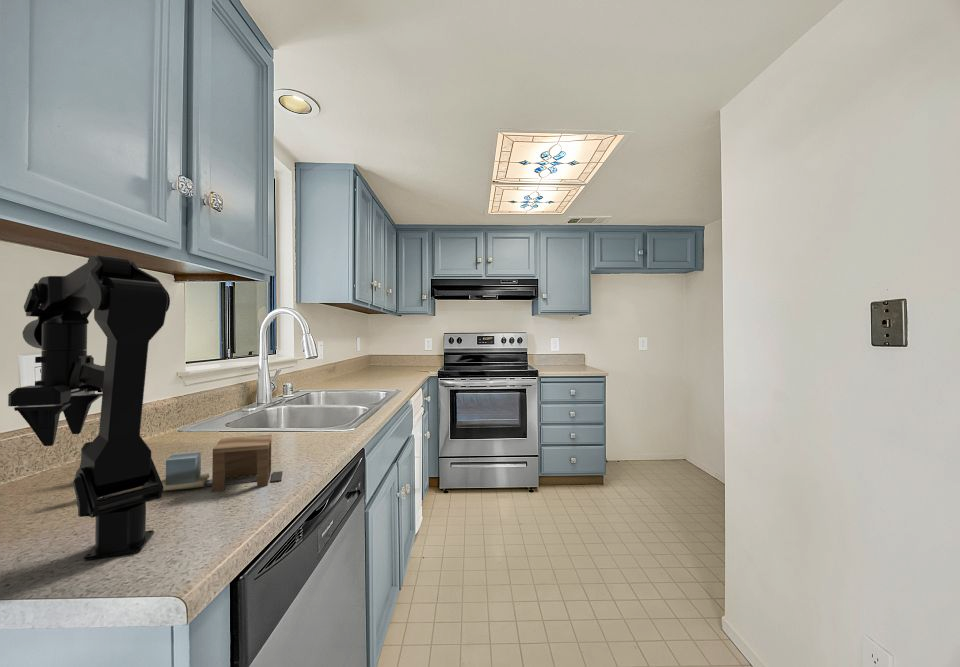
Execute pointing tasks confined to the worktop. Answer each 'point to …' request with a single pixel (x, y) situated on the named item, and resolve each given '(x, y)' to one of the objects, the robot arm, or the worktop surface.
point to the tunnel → (241, 459)
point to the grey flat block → (276, 476)
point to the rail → (209, 483)
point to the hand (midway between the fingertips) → (63, 439)
